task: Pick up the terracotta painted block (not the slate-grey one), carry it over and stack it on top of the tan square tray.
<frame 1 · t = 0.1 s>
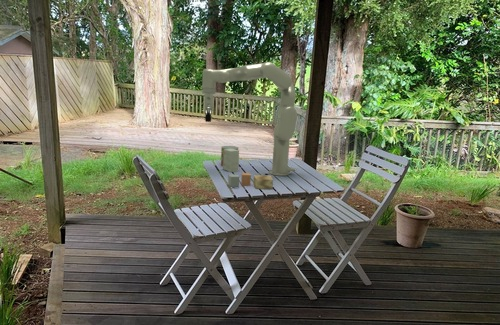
hand: (208, 120, 219), 31 cm above the table, tool pointing down, fingers open, 9 cm apart
tan square tray: (262, 186, 202), on the table
slate block: (233, 186, 199), on the table
small box: (230, 170, 234), on the table
terracotta block: (245, 184, 204), on the table
canned food: (229, 165, 248), on the table
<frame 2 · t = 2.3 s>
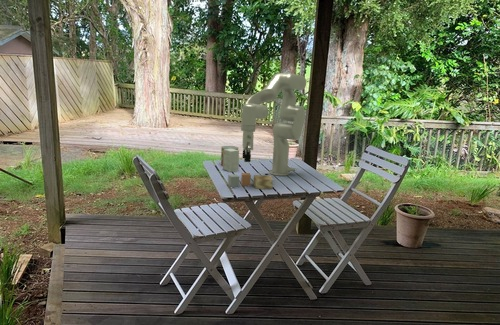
hand: (246, 159, 200), 14 cm above the table, tool pointing down, fingers open, 9 cm apart
nothing on the table moved.
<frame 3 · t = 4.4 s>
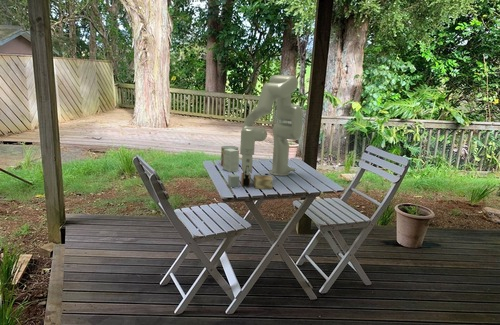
hand: (245, 183, 204), 0 cm above the table, tool pointing down, fingers closed on terracotta block, 4 cm apart
terracotta block: (245, 184, 204), on the table, touching gripper
everything else where it was.
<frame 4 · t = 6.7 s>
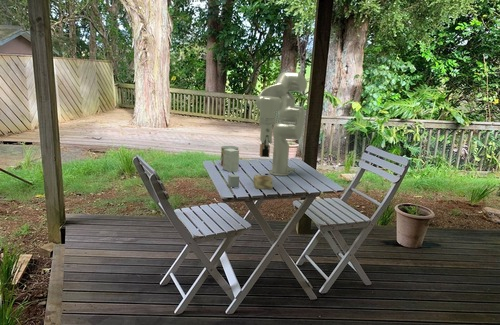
hand: (264, 155, 198), 17 cm above the table, tool pointing down, fingers closed on terracotta block, 4 cm apart
terracotta block: (264, 156, 198), point 17 cm above the table, touching gripper
everything else where it was.
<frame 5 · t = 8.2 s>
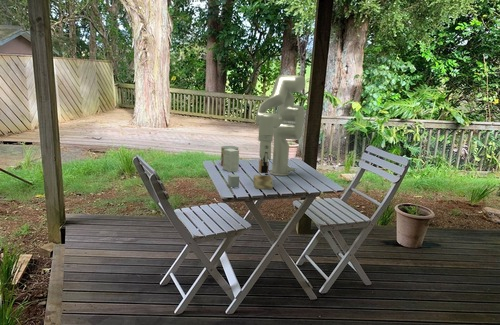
hand: (263, 171, 200), 8 cm above the table, tool pointing down, fingers closed on terracotta block, 4 cm apart
terracotta block: (263, 172, 200), point 8 cm above the table, touching gripper
everything else where it was.
when the fingers open (7 cm above the table, at t = 9.3 s): terracotta block drops 1 cm, resting on tan square tray.
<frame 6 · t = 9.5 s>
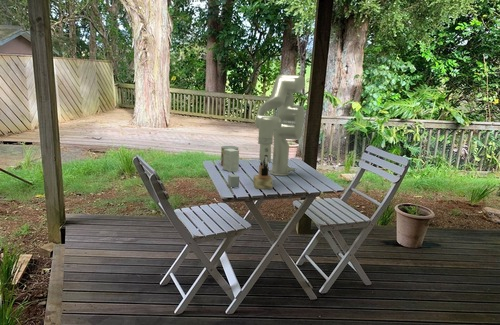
hand: (263, 173, 200), 7 cm above the table, tool pointing down, fingers open, 6 cm apart
terracotta block: (263, 177, 201), point 5 cm above the table, touching tan square tray
everything else where it was.
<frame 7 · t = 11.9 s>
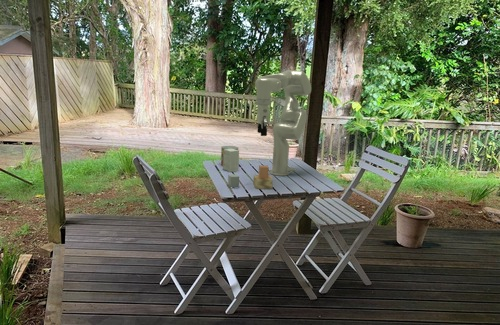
hand: (261, 134, 202), 27 cm above the table, tool pointing down, fingers open, 9 cm apart
nothing on the table moved.
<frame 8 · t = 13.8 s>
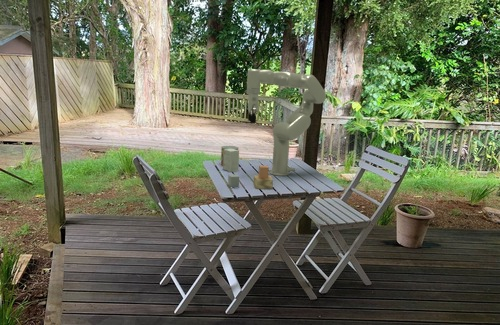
hand: (251, 121, 215), 32 cm above the table, tool pointing down, fingers open, 9 cm apart
nothing on the table moved.
at the end: terracotta block inside the target area on the tan square tray (0.0 cm from its centre), point 5.1 cm above the tan square tray's base; terracotta block tilted 0°; the gripper is holding nothing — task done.
